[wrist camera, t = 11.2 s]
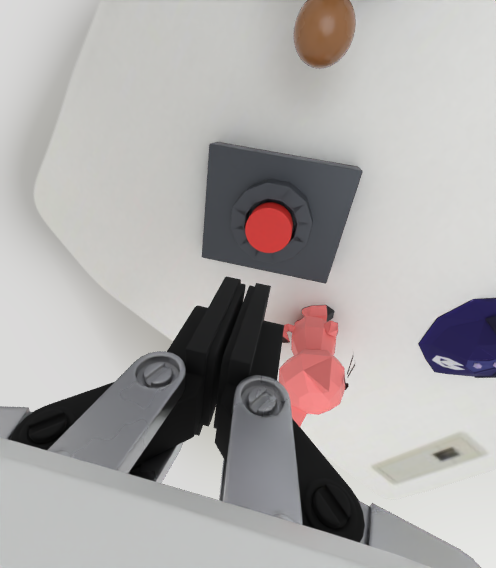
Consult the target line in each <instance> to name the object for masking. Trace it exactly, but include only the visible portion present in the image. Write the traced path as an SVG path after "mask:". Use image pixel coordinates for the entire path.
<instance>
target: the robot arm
mask: <svg viewBox="0 0 496 568" xmlns="http://www.w3.org/2000/svg"><path fill="white" fill-rule="evenodd" d="M270 287H271V286H268V285H263V284H259V283H256V285H255V287H254V286H249V288H248V291H247V294H246V296H245V299H244V292H245V284H241V280H240V279H235V278H231V277H225V279H224V280H223V282H222V284H221V286H220V288H219V289H218V291H217V293H216V295H215V297H214V298H213V300H212V302H211V304H210V306H209V307H208V308H206V307H201V306H196V307H195V308H194V310H193V311H192V313H191V314H190V316H189V317H188V319H187V321H186V322H185V324H184V325H183V327H182V329H181V330H180V332H179V333H178V335H177V336H176V338H175V340H174V341H173V343H172V344H171V346H170V348H169V349H168V351H167V352H153V353H148V354H146V355H144V356H142V357H140V358H139V359H138V360H136V361H135V362H134V363H133V364H132V365H131V366H130V367H129V368H128V369H127V370H126V371H125V372H124V373H123V374H122V375H121V376H120V377H119V378H118V380H116V381H115V382H113V383H110V384H107V385H105V386H102V387H99V388H96V389H93V390H90V391H87V392H84V393H81V394H78V395H75V396H73V397H70V398H67V399H64V400H61V401H58V402H55V403H52V404H49V405H47V406H44V407H42V408H40V409H38V410H36V411H34V412H30V411H29V408H25V407H0V568H481V567H480V566H479V565H478V564H477V563H476V562H475V561H474V560H473V559H472V558H471V557H470V556H468V555H467V554H465V553H464V552H463V551H461V550H460V549H458V548H456V547H454V546H452V545H451V544H449V543H447V542H445V541H443V540H441V539H439V538H437V537H436V536H433V535H432V534H430V533H428V532H426V531H424V530H422V529H420V528H419V527H417V526H415V525H413V524H411V523H409V522H407V521H405V520H403V519H402V518H400V517H398V516H396V515H394V514H392V513H390V512H388V511H386V510H384V509H383V508H380V507H379V506H377V505H375V504H373V503H372V504H371V505H370V506H368V505H366V504H364V503H362V502H360V501H359V500H358V499H357V497H356V496H355V494H354V493H353V491H352V490H351V488H350V487H349V486H348V485H347V484H346V482H345V481H344V480H343V479H342V478H341V476H340V475H339V474H338V473H337V471H336V470H335V469H334V468H333V467H332V465H331V464H330V463H329V462H328V461H327V460H326V458H325V457H324V456H323V455H322V453H321V452H320V451H319V450H318V449H317V447H316V446H315V445H314V444H313V443H312V441H311V440H310V439H309V438H308V436H307V435H306V434H305V433H304V432H303V430H302V429H301V428H300V427H299V426H298V424H297V423H296V422H295V421H294V420H293V418H292V412H291V402H290V397H289V394H288V392H287V390H286V389H285V387H284V386H283V385H282V384H280V383H279V382H278V381H277V375H278V368H279V360H280V353H281V346H282V338H283V331H284V325H281V324H276V323H272V322H267V321H264V317H265V312H266V307H267V302H268V297H269V292H270ZM243 299H244V302H243ZM215 407H216V413H215V421H214V428H216V429H217V431H216V438H215V443H216V445H217V447H218V449H219V451H220V452H221V454H222V456H223V458H224V461H223V468H222V477H221V487H220V495H219V500H216V499H213V498H209V497H206V496H202V495H199V494H195V493H192V492H189V491H185V490H182V489H178V488H175V487H171V486H168V485H165V484H161V483H162V481H163V480H164V478H165V476H166V474H167V473H168V471H169V469H170V467H171V466H172V464H173V462H174V460H175V459H176V457H177V455H178V453H179V452H180V449H181V447H182V444H183V442H184V441H186V440H188V439H190V438H192V437H194V435H200V432H201V429H202V426H203V425H206V426H209V424H210V422H211V419H212V416H213V413H214V410H215Z"/></svg>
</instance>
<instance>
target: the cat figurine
mask: <svg viewBox="0 0 496 568" xmlns="http://www.w3.org/2000/svg"><path fill="white" fill-rule="evenodd" d="M302 314H303V315H304V318H302V319H301V320H298V321H296V322H295V325H290V324H286V325H284V331H283V338H282V342H283V343H288V342H290V341H289V338H288V335H287V332H288V331H290V332H292V349H291V350H292V352H293V354H294V356H293V357H291V358H290V359H288V360H287V361H286V362H285V363H284V364H283V365H282V366H281V367H280V369H279V383H280V384H282V385H283V386H284V387H285V389H286V390H287V392H288V394H289V397H290V402H291V412H292V418H293V420H294V421H295V422H296V423H297V424H298V426H299V427H300V426H301V424H302V422H303V420H304V418H305V416H306V414H318V415H319V414H321V413H324V412H326V411H329V410H331V409H332V408H334V407H336V406H337V405H339V404H340V402H341V399H342V396H343V393H344V390H346V389H347V387H348V383H345V374H344V367H343V366H342V365H341V363H340V362H339V360H338V359H337V358H335V357H334V356H333V355H334V353H335V344H336V336H337V333H338V323H336V322H333V321H329V320H331V319H332V318H333V315H334V311H333V310H332V309H331V308H329V307H328V306H327V305H319V306H309V307H307V308H304V309H302ZM352 359H353V357H352ZM351 362H352V360H351ZM350 365H351V363H350ZM354 366H355V364H354ZM354 366H353V368H354ZM349 368H350V366H349ZM353 368H352V369H353ZM348 371H349V369H348ZM351 371H352V370H351ZM351 371H350V373H351ZM350 373H349V375H350ZM347 374H348V372H347ZM349 375H348V376H349Z"/></svg>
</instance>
